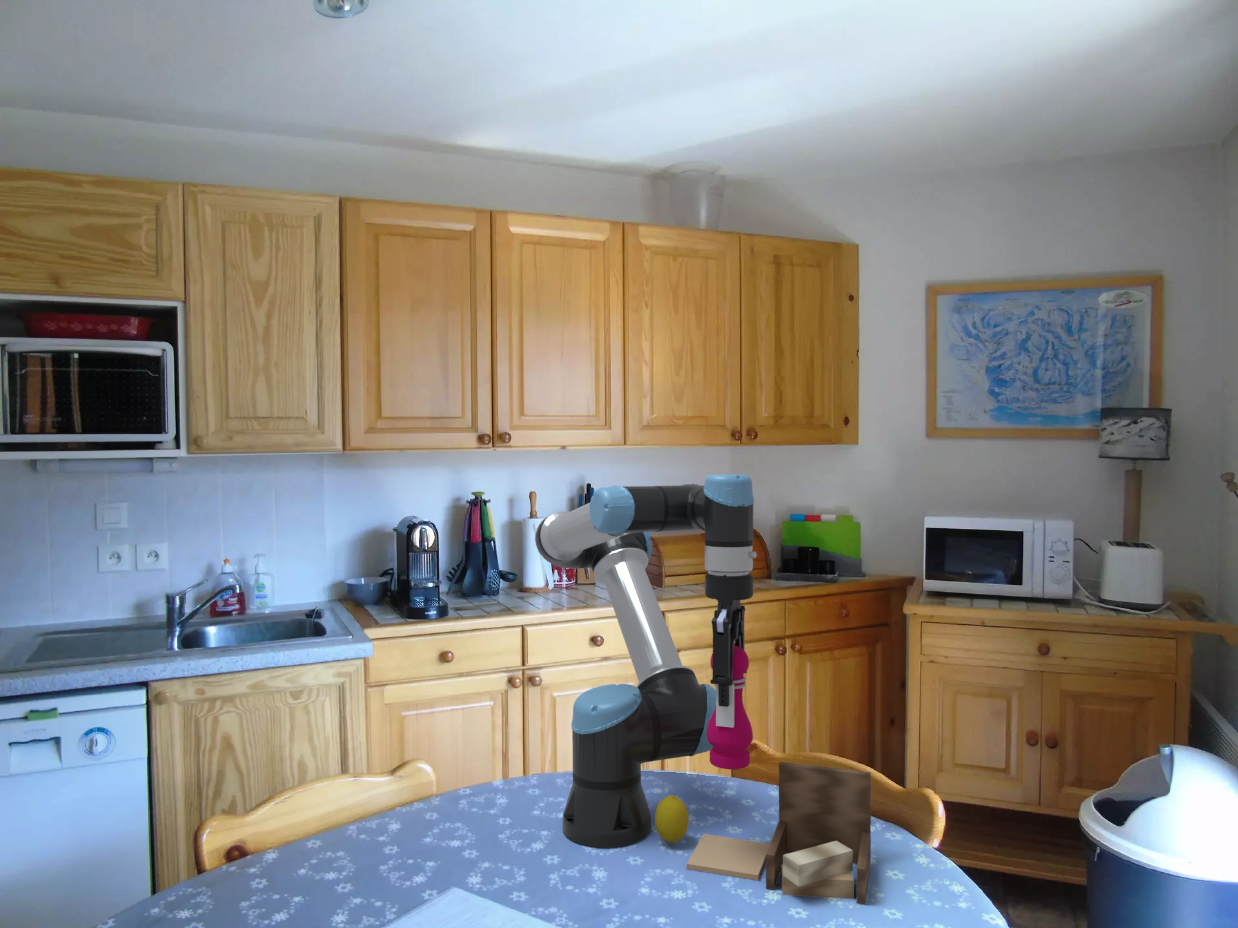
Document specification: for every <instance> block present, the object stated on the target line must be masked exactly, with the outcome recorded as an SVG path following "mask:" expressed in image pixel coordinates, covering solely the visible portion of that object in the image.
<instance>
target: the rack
mask: <svg viewBox="0 0 1238 928" xmlns="http://www.w3.org/2000/svg"><path fill="white" fill-rule="evenodd" d="M871 776H872V773H871V772H870V771H862V770H853V769H844V768H837V767H827V766H819V765H818V766H817V765H810V764H802V763H800V764H799V763H794V762H784V761H780V762H779V764H778V821H777V825H776V827H775V830H774V833H773V835H772V837H771V841H770V843H769V844H770V845H769V848H768V850H767V853H766V861H765V889H767V890H773V891H775V889H776V886H777V883H778V881H779V880H778V879H779V878H780V875H781V865H783V855H785V854H789V853H792V852H796V851H800V850H803V849H807V848H811V847H815V846H818V845H822V844H826V843H829V842H833V841H838V842H839V843H841V844H843V845H845V846H846V847H848V848H850V849H851V850H853V864H856V904H857V903H859V904H858V905H863V904H866V905H867V898H866V897H867V896H868V889H869V888H868V887H869V882H870V881H869V879H870V871H871V863H872V861H871V860H872V859H871V858H872V854H871V853H872V848H871V847H872V843H871V840H872V837H871V835H872V833H871V827H872V825H871V824H872V821H871V820H872V819H871V817H872V815H871V814H872V812H871V807H872V806H871V805H872V804H871V803H872V801H871V799H872V797H871V796H872V795H871V787H872V786H871V782H872V781H871V780H872V779H871Z"/></svg>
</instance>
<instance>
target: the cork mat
mask: <svg viewBox="0 0 1238 928" xmlns="http://www.w3.org/2000/svg"><path fill="white" fill-rule="evenodd" d="M769 845H770V843H767V842H762V841H754V840H747V839H741V838H734V837H727V836H722V835H721V836H719V835H716V834H715V835H713V834H709V833H708V834H707V833H703V834H702V836H701V838H700V839H699V841H698V843H697V844H696V847H695V849H694V850H693V852H692V854H691V855H690V857H689V859H688V861H687V862H686V870H689V871H690V870H691V871H696V872H697V871H698V872H703V873H704V872H705V873H708V874H716V875H723V876H728V877H734V878H739V879H746V880H753V881H759V879H760V877H761V874H762V872H763V870H764V867H765V865H766V853H767V850H768V848H769Z"/></svg>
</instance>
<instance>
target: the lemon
mask: <svg viewBox="0 0 1238 928" xmlns="http://www.w3.org/2000/svg"><path fill="white" fill-rule="evenodd" d="M654 814H655V815H654V825H655V826H654V827H655V830H656V832H657V834H658V835H659V837H660V838H662V840H664V841H667V842H668V843H669V844H670V845H674V844H675V843H676V842H678V841H680V840H681V839H683V838H684V837H685V836H686V834H687V832H688V828H689V823H690V821H689V820H690V817H689V812H688V808H687V805H686V804H685V802H684V801H683V800H682V799H681V798H679V797H678V796H675V795H674V794H669V795H668V796H665V797H664V798H662V799H661V800H660V801H659V802H658V804H657V806H656V808H655V813H654Z"/></svg>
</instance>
